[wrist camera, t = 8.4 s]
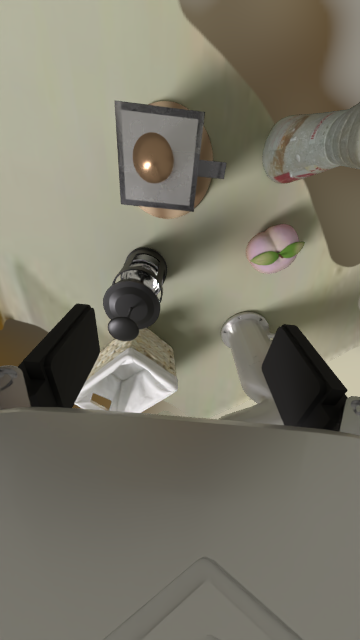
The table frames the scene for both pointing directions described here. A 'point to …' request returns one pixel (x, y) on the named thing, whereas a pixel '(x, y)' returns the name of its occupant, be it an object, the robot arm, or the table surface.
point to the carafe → (185, 144)
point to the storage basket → (131, 374)
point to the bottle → (312, 144)
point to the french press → (135, 295)
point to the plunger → (153, 157)
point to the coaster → (201, 181)
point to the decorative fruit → (274, 248)
